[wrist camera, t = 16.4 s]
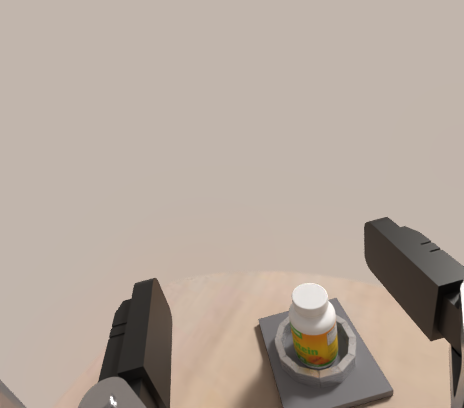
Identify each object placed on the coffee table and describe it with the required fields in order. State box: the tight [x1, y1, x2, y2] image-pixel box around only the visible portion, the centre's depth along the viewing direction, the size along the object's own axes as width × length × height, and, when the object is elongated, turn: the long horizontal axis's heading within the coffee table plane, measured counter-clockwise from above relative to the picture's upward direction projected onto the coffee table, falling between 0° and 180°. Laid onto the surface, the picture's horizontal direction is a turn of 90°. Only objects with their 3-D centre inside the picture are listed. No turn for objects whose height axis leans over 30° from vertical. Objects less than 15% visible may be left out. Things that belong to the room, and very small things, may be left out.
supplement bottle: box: [289, 283, 338, 369], centre depth 37 cm, size 5×5×10 cm
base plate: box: [258, 298, 393, 408], centre depth 40 cm, size 12×14×1 cm
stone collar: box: [275, 315, 357, 388], centre depth 39 cm, size 10×10×2 cm
